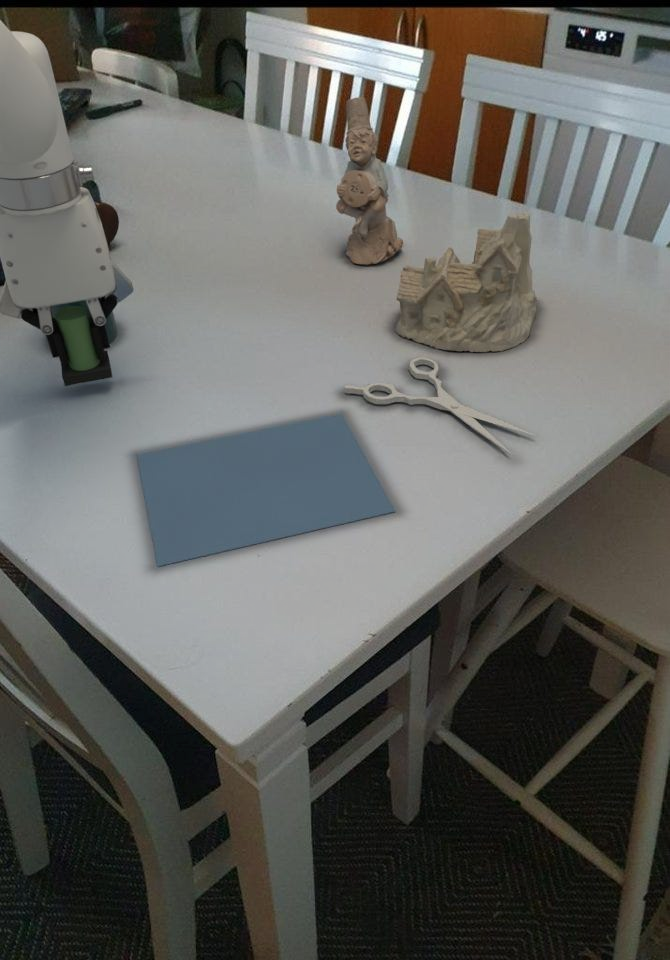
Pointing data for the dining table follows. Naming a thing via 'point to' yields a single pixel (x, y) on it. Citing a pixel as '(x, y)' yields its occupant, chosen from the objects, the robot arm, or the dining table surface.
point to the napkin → (257, 488)
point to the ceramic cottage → (473, 294)
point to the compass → (108, 220)
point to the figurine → (365, 192)
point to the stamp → (80, 348)
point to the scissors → (431, 399)
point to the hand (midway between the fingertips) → (83, 356)
